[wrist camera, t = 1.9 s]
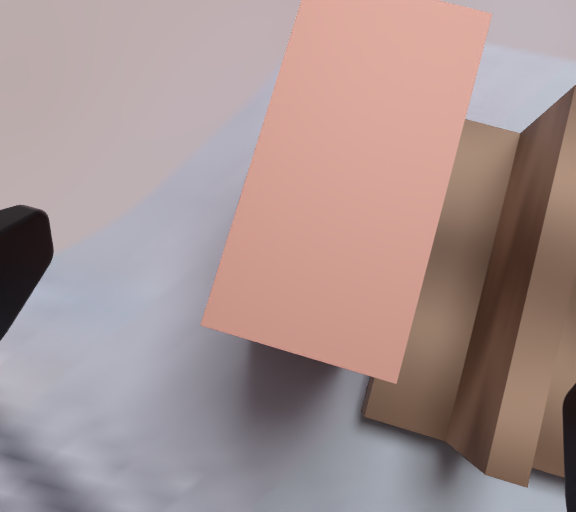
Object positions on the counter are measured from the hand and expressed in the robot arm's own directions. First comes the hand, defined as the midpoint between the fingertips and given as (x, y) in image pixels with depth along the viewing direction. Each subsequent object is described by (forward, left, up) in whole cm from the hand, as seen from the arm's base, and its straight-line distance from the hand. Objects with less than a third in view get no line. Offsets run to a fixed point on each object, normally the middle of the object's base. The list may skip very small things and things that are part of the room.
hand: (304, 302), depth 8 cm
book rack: (+3, -10, -12) cm, 16 cm away
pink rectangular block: (+3, 0, -12) cm, 12 cm away
